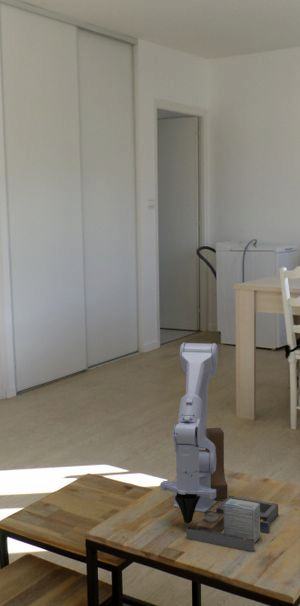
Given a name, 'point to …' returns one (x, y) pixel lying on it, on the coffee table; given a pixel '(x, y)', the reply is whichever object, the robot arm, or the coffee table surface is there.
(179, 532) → the coffee table surface
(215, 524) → the brown block grey dome
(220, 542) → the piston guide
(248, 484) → the coffee table surface
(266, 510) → the tray
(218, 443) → the wooden block
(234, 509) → the medicine box
